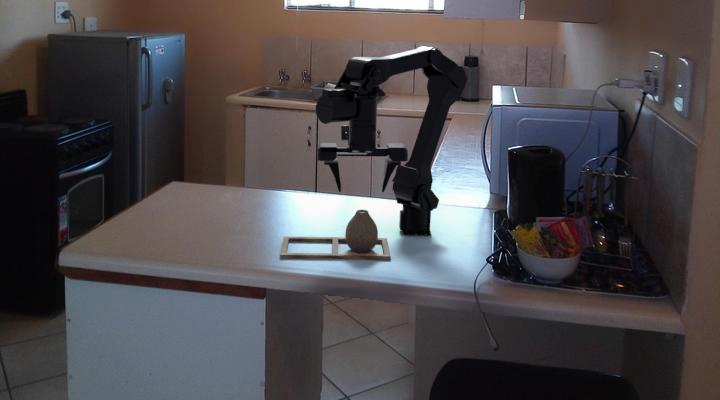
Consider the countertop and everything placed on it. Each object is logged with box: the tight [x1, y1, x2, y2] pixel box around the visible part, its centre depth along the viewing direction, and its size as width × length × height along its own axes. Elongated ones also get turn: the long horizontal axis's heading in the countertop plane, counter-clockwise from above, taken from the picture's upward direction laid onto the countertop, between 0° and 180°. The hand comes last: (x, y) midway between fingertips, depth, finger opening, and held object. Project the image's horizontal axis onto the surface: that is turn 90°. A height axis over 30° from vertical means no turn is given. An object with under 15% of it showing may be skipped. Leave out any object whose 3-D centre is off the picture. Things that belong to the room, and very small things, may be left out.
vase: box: [344, 209, 379, 254], centre depth 162 cm, size 7×7×9 cm
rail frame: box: [279, 236, 392, 261], centre depth 163 cm, size 23×12×1 cm, turn 92°
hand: (361, 191), depth 163 cm, fingers open, 9 cm apart
